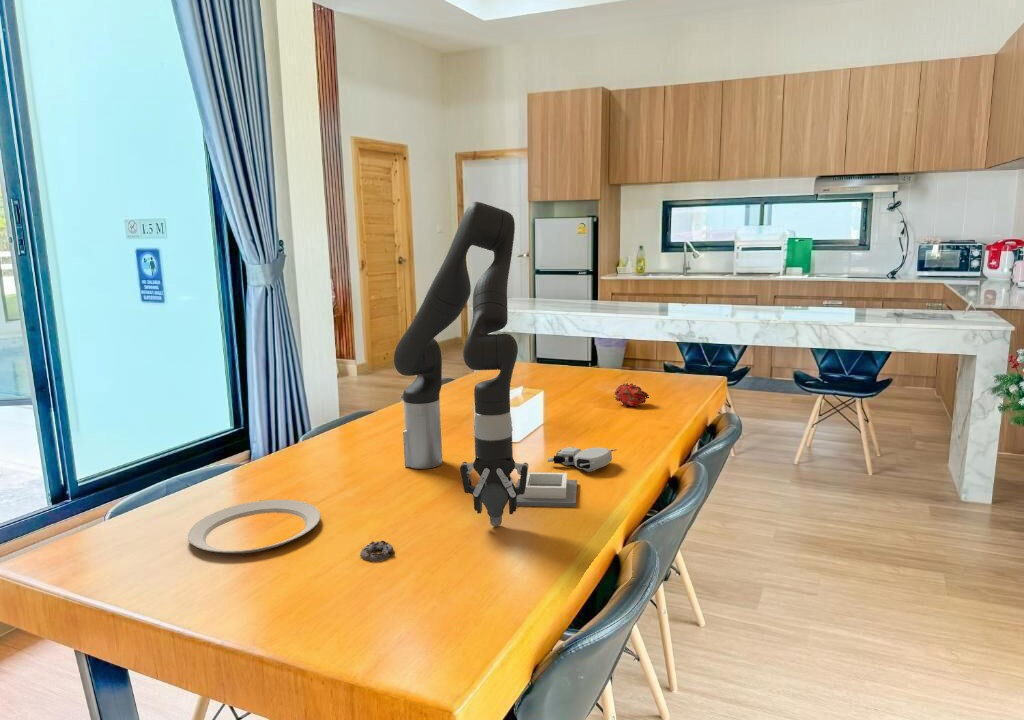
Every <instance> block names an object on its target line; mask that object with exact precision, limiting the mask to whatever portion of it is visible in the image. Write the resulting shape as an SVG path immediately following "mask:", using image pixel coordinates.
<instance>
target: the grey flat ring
mask: <svg viewBox="0 0 1024 720" xmlns="http://www.w3.org/2000/svg"><path fill="white" fill-rule="evenodd" d="M272 513H273V514H274V513H275V514H276V513H277V514H279V513H280V514H290V515H294V516H296V517H299V518H300V519H302V520H303V522H305V527H304V529H302V530H301V531H300V532H299V533H297V534H296V535H294V536H291V537H290V538H288V539H285V540H282V541H280V542H277V543H274V544H271V545H267V546H263V547H258V548H252V549H251V548H250V549H237V550H235V549H220V548H216V547H214V546H211V545H209V544H208V543H207V537H208V536H209V534H210V533H211V532H212V531H214V530H215V529H217V528H218V527H220V526H222V525H223V524H225V523H228V522H231V521H234V520H236V519H240V518H243V517H247V516H253V515H259V514H272ZM321 517H322V516H321V512H320V510H319V508H317V507H316V506H315V505H313V504H310V503H309V502H304V501H300V500H296V499H295V500H294V499H266V500H257V501H251V502H244V503H241V504H236V505H232V506H229V507H227V508H223V509H221V510H217V511H215V512H213V513H211V514H209V515H207V516H204V517H203V518H202V519H199V521H197V522H196V523H195V524H193V525H192V527H191V528H190V529H189V531H188V533H187V539H188V542H189V543H190V544H191V545H192V546H194V547H195V548H197V549H200V550H204V551H206V552H207V551H208V552H214V553H225V554H247V553H248V554H250V553H255V552H262V551H267V550H271V549H273V548H276V547H280V546H282V545H285V544H288V543H289V542H292V541H294V540H295V539H298V538H300V537H302V536H303V535H305V534H307V533H308V532H310V531H312V529H314V528H315V527H316V526H317V525H318V524H319V522H320V520H321Z"/></svg>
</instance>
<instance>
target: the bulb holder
mask: <svg viewBox="0 0 1024 720" xmlns="http://www.w3.org/2000/svg"><path fill="white" fill-rule="evenodd" d="M519 484H520V478H518V479H517V483H516V485H515V487H519ZM577 491H578V480H577V479H568V472H529V471H528V474H527V481H526V489H525V493H524V494H523V495H521V494H520V495H517V507H551V508H553V507H554V508H556V507H558V508H576V507H577Z"/></svg>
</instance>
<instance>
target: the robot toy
mask: <svg viewBox="0 0 1024 720" xmlns="http://www.w3.org/2000/svg"><path fill="white" fill-rule="evenodd" d="M617 450H618V449H617V448H614V449H609V448H605V447H589V448H588V447H587V448H586V449H583V450H582V449H580V448H579V447H574V446H569V447H564V448H561V449H560V450H558V451H556V454H555V455H553V457H548V458H547V459H546V461H547V462H549V463H552V462H553V464H555V465H556V464H562V465H564V466H571V465H572V466H575V467H576V468H577V469H580V470H584V471H585V472H587V473H592V471H593V472H594V471H595V470H598V469H601V468H604V467H605V466H607V465H609V463H611V462H612V459H613V457H612V452H616V451H617Z"/></svg>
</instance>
